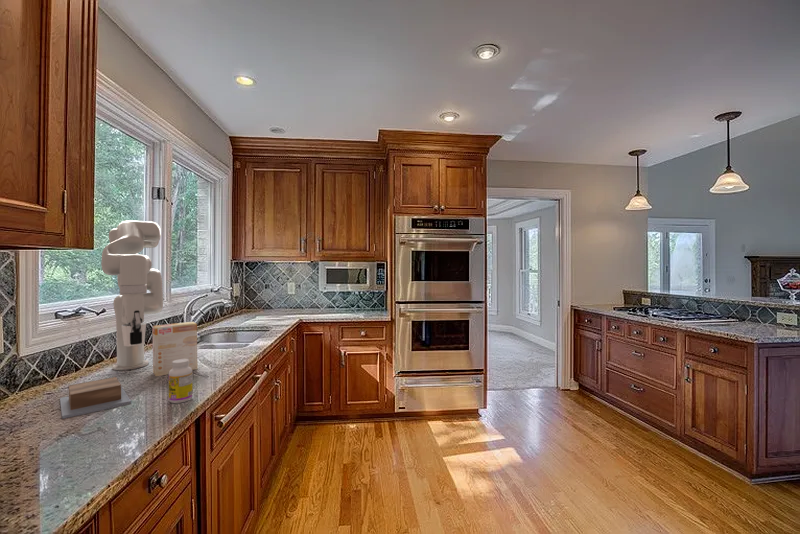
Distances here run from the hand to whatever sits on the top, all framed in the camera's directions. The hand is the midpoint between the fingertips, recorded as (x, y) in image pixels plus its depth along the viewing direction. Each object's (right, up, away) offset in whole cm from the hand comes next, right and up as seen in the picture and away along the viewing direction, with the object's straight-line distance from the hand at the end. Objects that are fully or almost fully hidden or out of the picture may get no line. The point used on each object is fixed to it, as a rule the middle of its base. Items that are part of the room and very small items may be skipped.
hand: (134, 342), depth 124 cm
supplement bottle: (+20, -18, -7) cm, 28 cm away
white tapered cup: (0, -1, 0) cm, 1 cm away
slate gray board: (-6, -17, -8) cm, 20 cm away
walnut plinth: (-6, -17, -8) cm, 20 cm away
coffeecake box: (-1, -17, +25) cm, 30 cm away
